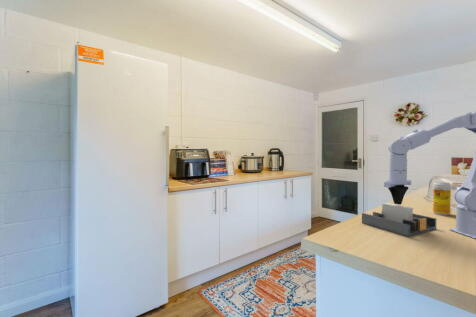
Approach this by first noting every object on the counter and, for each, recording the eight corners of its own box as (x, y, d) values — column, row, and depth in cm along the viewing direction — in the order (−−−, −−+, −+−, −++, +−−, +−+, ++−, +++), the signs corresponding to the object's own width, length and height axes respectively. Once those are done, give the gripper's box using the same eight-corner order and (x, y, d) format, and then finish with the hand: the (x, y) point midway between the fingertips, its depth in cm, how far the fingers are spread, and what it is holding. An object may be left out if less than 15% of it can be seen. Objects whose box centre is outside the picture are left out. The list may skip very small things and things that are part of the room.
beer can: (430, 213, 112) (430, 181, 111) (437, 211, 114) (437, 181, 114) (445, 216, 106) (446, 183, 106) (452, 214, 109) (453, 182, 108)
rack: (436, 228, 90) (436, 216, 90) (408, 236, 82) (408, 222, 82) (388, 217, 106) (389, 206, 106) (361, 222, 99) (361, 210, 98)
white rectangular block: (412, 225, 91) (412, 207, 90) (407, 226, 89) (408, 208, 89) (386, 219, 100) (386, 202, 99) (382, 220, 98) (382, 203, 98)
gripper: (398, 168, 100) (398, 200, 101) (376, 170, 94) (376, 203, 94) (417, 169, 94) (416, 203, 94) (394, 171, 88) (394, 207, 88)
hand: (397, 204), depth 94 cm, fingers closed
